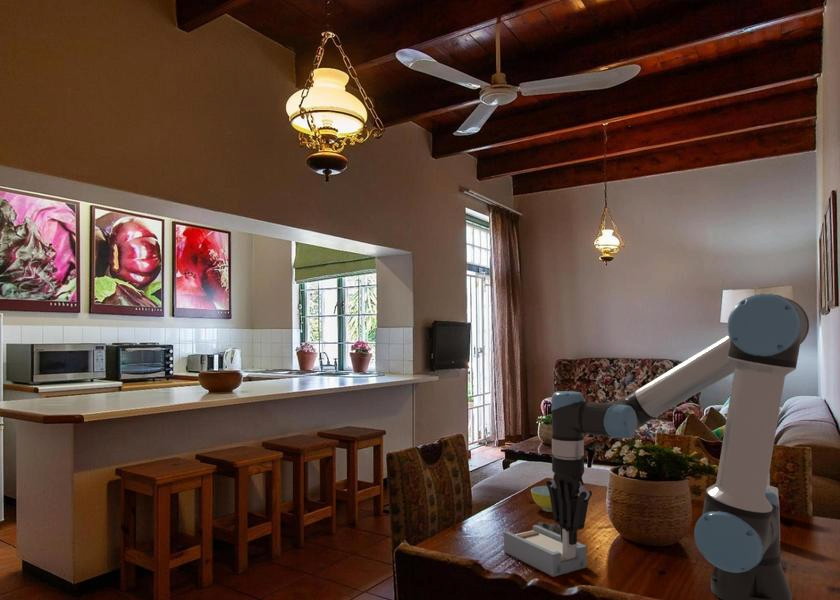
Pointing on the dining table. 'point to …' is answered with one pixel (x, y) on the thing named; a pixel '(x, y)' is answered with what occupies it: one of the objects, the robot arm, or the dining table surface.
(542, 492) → the bowl
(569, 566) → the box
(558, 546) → the lid
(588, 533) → the dining table surface
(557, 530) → the egg carton
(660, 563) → the dining table surface
